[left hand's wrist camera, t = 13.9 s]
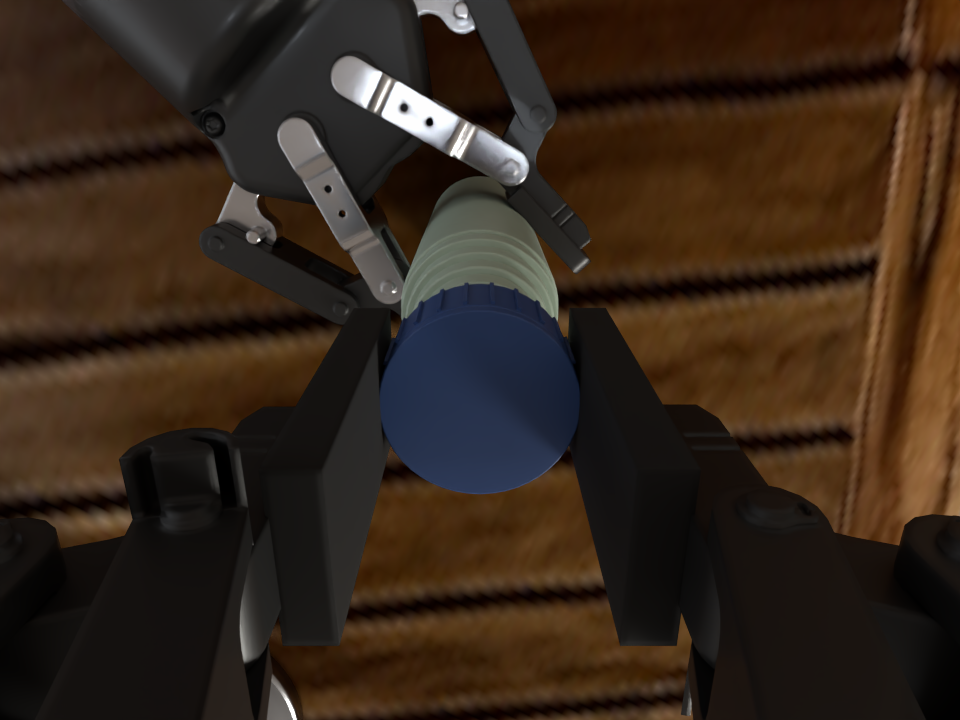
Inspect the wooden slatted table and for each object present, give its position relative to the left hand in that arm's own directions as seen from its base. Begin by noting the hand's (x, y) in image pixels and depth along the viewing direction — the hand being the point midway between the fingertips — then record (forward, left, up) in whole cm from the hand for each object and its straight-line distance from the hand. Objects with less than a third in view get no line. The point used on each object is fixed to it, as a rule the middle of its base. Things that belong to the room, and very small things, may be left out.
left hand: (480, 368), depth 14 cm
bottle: (0, 0, -17) cm, 17 cm away
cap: (0, 0, +2) cm, 2 cm away
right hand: (+2, -2, -11) cm, 11 cm away
